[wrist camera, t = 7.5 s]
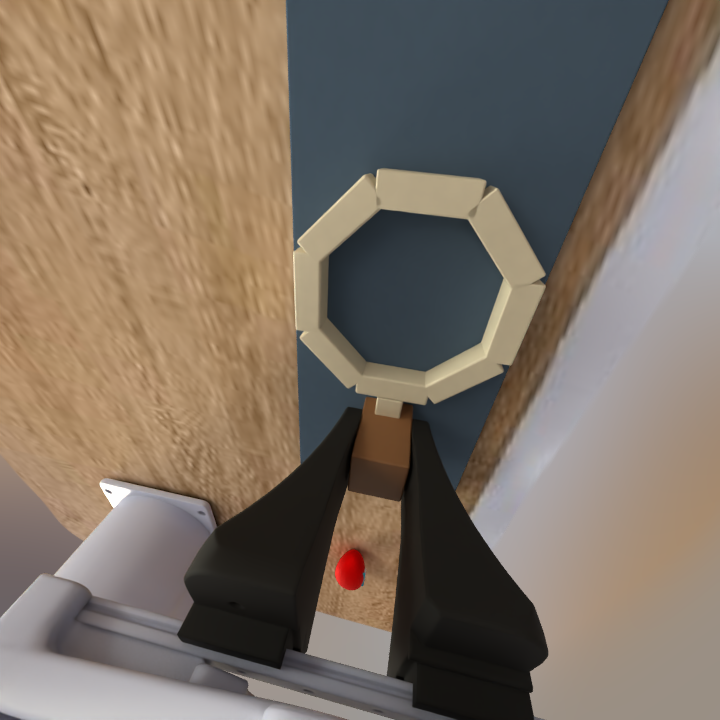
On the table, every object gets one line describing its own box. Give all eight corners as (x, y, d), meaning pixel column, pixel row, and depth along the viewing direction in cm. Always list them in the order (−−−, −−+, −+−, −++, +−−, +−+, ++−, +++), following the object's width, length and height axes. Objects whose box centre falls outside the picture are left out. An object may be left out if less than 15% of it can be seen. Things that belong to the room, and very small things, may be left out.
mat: (451, 491, 16) (452, 498, 16) (302, 460, 17) (300, 466, 16) (772, -263, 5) (798, -294, 5) (284, -250, 6) (276, -274, 5)
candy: (366, 567, 22) (361, 598, 21) (338, 561, 22) (332, 591, 21) (369, 546, 20) (365, 578, 19) (340, 540, 21) (333, 571, 19)
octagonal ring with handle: (301, 159, 9) (247, 159, 6) (572, 187, 8) (643, 202, 5) (306, 441, 15) (281, 500, 13) (456, 471, 15) (462, 540, 12)
